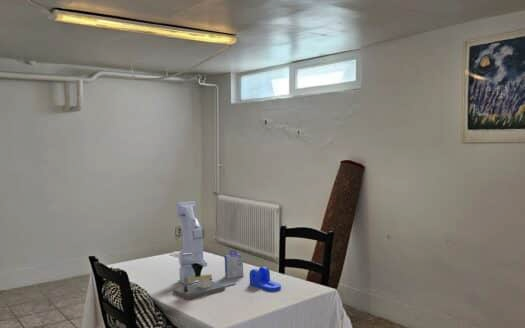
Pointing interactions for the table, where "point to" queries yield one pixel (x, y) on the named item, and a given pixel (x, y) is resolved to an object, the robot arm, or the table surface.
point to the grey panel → (198, 290)
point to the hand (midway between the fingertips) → (198, 277)
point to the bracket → (263, 279)
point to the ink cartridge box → (233, 265)
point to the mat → (226, 283)
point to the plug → (204, 283)
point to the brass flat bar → (195, 280)
